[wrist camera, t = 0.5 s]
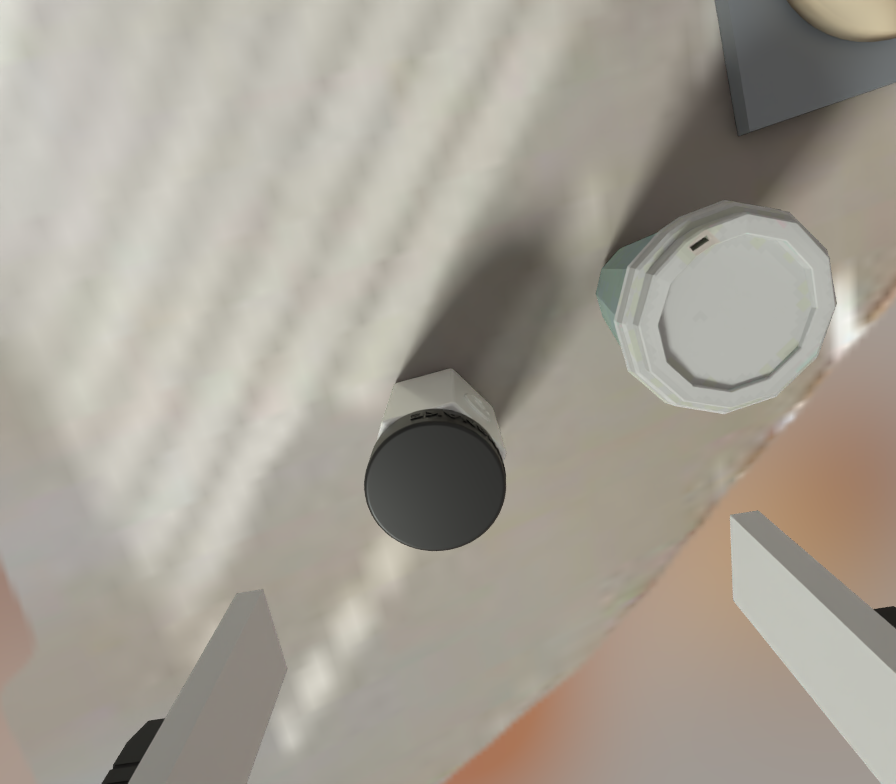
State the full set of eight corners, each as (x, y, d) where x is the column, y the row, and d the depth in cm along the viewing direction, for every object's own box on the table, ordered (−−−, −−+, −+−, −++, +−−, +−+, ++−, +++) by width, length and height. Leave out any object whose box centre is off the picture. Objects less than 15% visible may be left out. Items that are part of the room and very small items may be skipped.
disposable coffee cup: (735, 306, 41) (897, 343, 26) (610, 389, 42) (698, 466, 28) (663, 182, 38) (798, 146, 24) (534, 274, 40) (587, 293, 25)
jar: (515, 424, 43) (542, 492, 31) (441, 493, 44) (441, 582, 33) (432, 344, 41) (428, 385, 30) (359, 419, 43) (328, 485, 31)
